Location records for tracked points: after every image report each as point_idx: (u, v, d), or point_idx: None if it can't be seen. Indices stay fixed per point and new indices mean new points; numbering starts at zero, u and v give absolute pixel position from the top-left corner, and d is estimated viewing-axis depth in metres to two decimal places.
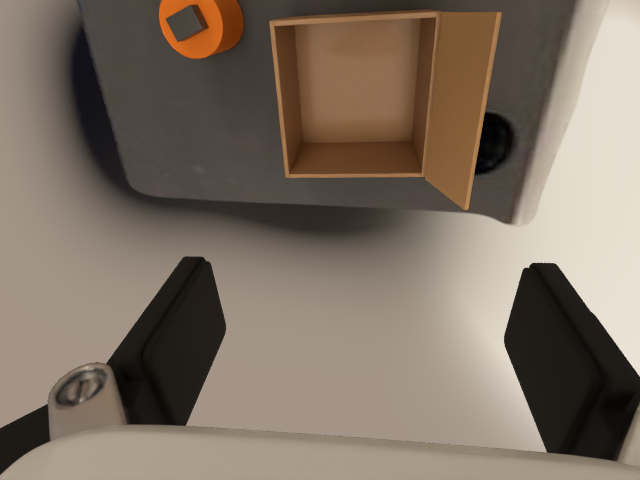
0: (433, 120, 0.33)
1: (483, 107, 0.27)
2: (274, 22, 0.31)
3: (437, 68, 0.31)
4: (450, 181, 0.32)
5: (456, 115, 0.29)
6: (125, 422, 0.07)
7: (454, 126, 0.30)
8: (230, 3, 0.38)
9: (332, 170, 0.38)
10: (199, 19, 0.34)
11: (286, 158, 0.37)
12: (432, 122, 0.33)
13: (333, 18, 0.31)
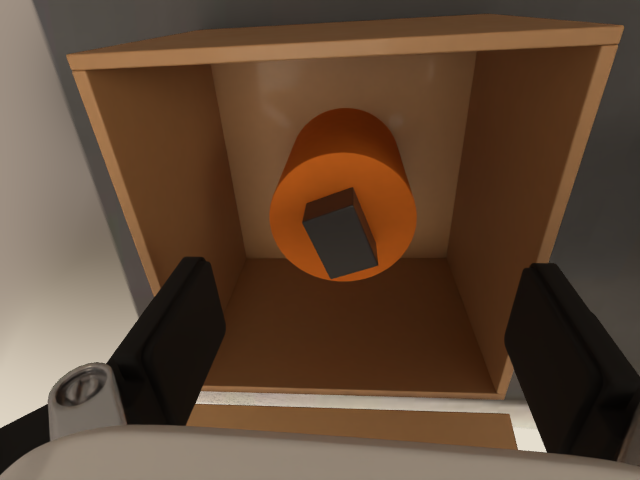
0: (310, 418, 0.16)
1: None
2: (609, 44, 0.09)
3: (411, 415, 0.16)
4: None
5: None
6: (125, 422, 0.07)
7: None
8: None
9: (145, 202, 0.13)
10: None
11: (142, 62, 0.10)
12: (306, 415, 0.16)
13: (557, 224, 0.12)
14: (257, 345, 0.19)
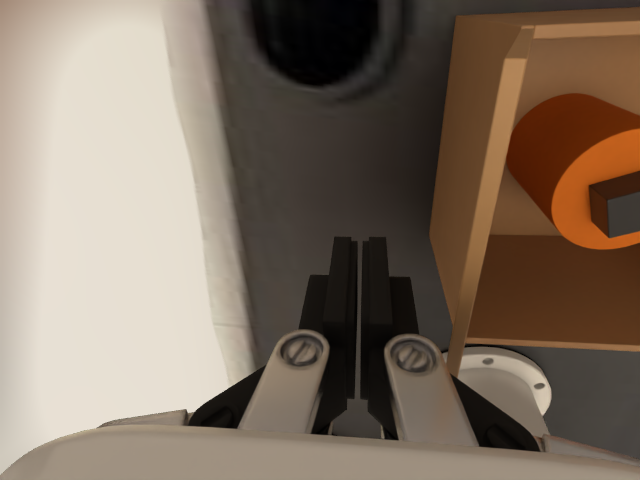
0: None
1: None
2: None
3: None
4: None
5: None
6: (310, 412, 0.07)
7: None
8: (522, 183, 0.22)
9: None
10: (604, 212, 0.16)
11: None
12: None
13: None
14: None
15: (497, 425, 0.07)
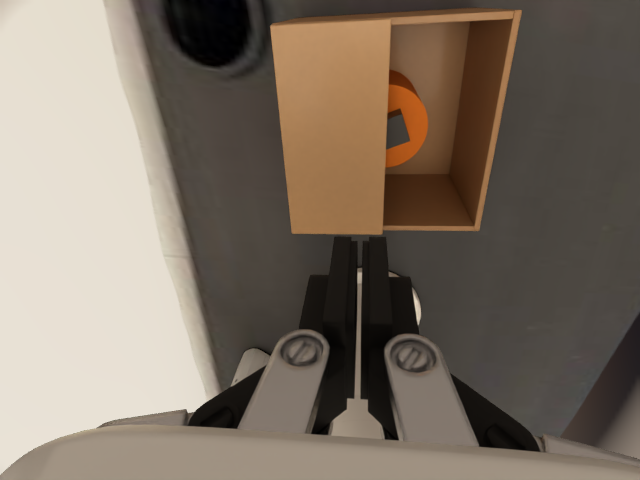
0: (288, 124, 0.25)
1: (385, 159, 0.25)
2: (473, 228, 0.28)
3: (290, 183, 0.27)
4: None
5: None
6: (310, 412, 0.07)
7: None
8: None
9: None
10: None
11: (508, 52, 0.22)
12: None
13: (404, 229, 0.28)
14: None
15: (497, 425, 0.07)
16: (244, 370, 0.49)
